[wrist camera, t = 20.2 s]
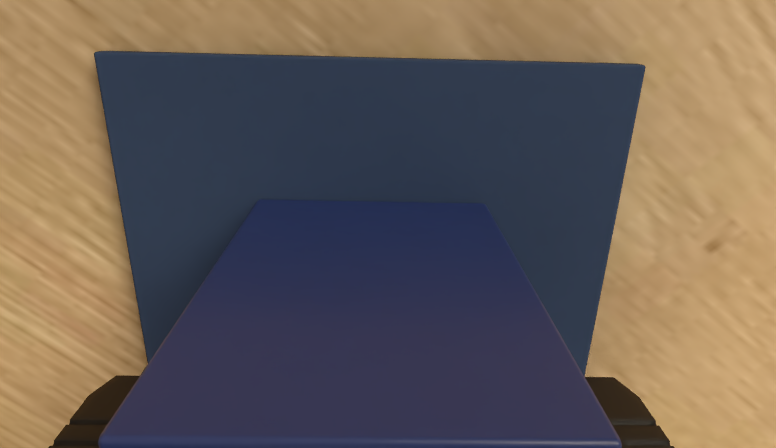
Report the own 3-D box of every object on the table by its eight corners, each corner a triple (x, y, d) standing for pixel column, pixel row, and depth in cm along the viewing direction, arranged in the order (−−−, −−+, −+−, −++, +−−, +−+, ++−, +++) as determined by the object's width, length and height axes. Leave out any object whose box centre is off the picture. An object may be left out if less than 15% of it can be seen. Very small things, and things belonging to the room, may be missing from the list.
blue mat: (102, 50, 11) (92, 51, 10) (637, 63, 11) (646, 64, 10) (171, 463, 15) (166, 474, 14) (560, 464, 15) (565, 476, 15)
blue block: (257, 198, 11) (93, 439, 5) (486, 202, 11) (627, 443, 5) (270, 385, 13) (164, 744, 7) (467, 387, 13) (552, 742, 7)
